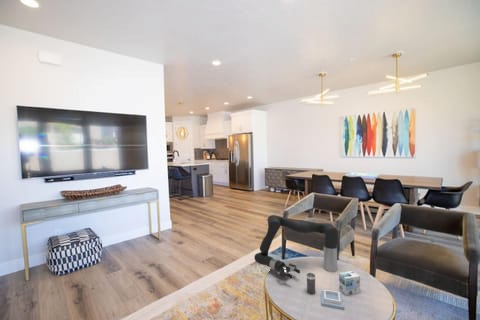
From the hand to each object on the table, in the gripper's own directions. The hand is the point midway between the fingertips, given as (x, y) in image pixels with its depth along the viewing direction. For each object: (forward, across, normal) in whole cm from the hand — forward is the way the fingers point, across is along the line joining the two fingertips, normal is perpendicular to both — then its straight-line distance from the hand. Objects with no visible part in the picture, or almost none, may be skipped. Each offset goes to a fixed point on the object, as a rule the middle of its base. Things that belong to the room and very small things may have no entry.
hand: (296, 274), depth 148 cm
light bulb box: (+27, +19, +7) cm, 34 cm away
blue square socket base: (+24, +2, +7) cm, 25 cm away
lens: (+11, 0, +7) cm, 13 cm away
